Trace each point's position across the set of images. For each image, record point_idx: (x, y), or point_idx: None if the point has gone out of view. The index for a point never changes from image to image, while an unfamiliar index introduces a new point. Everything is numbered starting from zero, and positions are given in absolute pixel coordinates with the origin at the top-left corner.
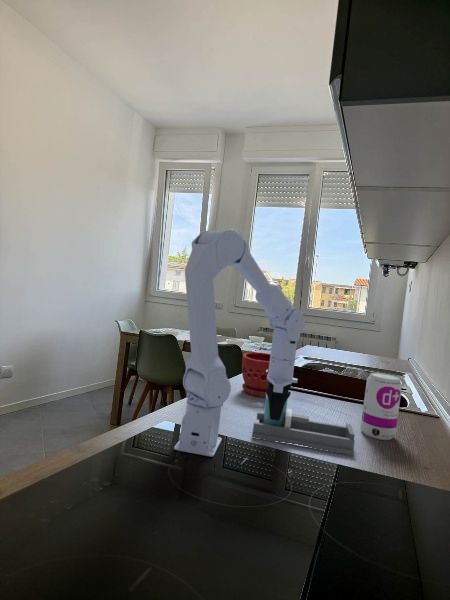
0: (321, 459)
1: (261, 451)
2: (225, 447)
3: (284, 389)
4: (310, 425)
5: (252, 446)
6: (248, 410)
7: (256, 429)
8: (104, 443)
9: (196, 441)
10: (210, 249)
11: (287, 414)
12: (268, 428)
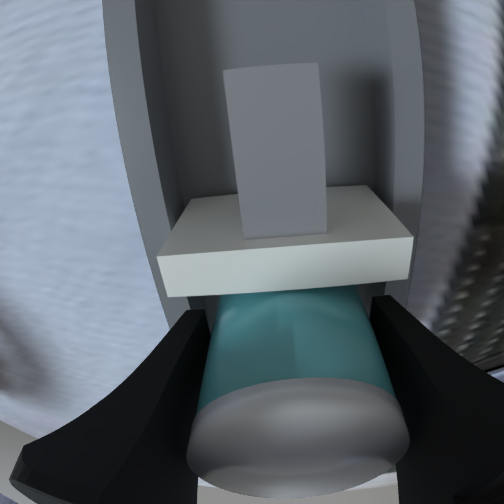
0: (496, 30)
1: (498, 271)
2: (479, 360)
3: (148, 476)
4: (151, 66)
5: (466, 306)
6: (74, 371)
7: None
8: None
9: None
10: None
11: (366, 274)
12: None
